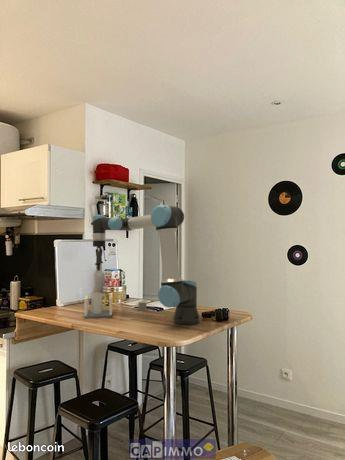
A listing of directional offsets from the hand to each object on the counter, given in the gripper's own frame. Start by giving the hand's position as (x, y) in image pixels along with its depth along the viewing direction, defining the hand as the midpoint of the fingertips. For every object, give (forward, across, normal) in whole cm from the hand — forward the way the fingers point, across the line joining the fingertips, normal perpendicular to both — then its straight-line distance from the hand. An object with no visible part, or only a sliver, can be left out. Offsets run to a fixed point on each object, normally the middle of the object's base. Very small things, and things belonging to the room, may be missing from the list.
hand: (99, 275), depth 219 cm
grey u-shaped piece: (+25, 0, 0) cm, 25 cm away
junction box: (+25, -15, +27) cm, 40 cm away
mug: (+23, -1, 0) cm, 23 cm away
